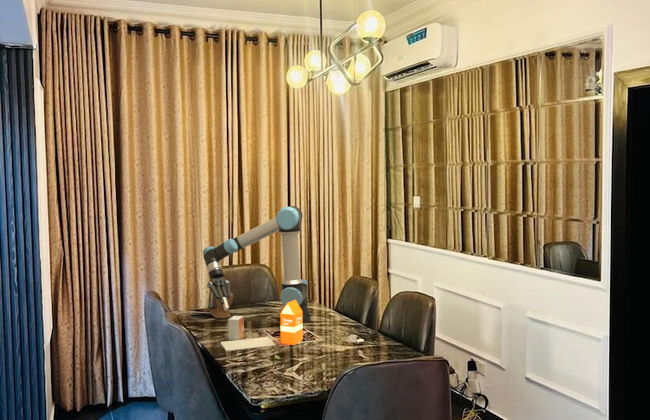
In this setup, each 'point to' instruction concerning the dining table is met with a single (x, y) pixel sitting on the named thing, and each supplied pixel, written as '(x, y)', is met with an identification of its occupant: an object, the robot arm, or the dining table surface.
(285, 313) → the orange juice
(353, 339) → the teacup and saucer
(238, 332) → the small box
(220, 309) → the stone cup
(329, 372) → the dining table surface
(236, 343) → the mat
